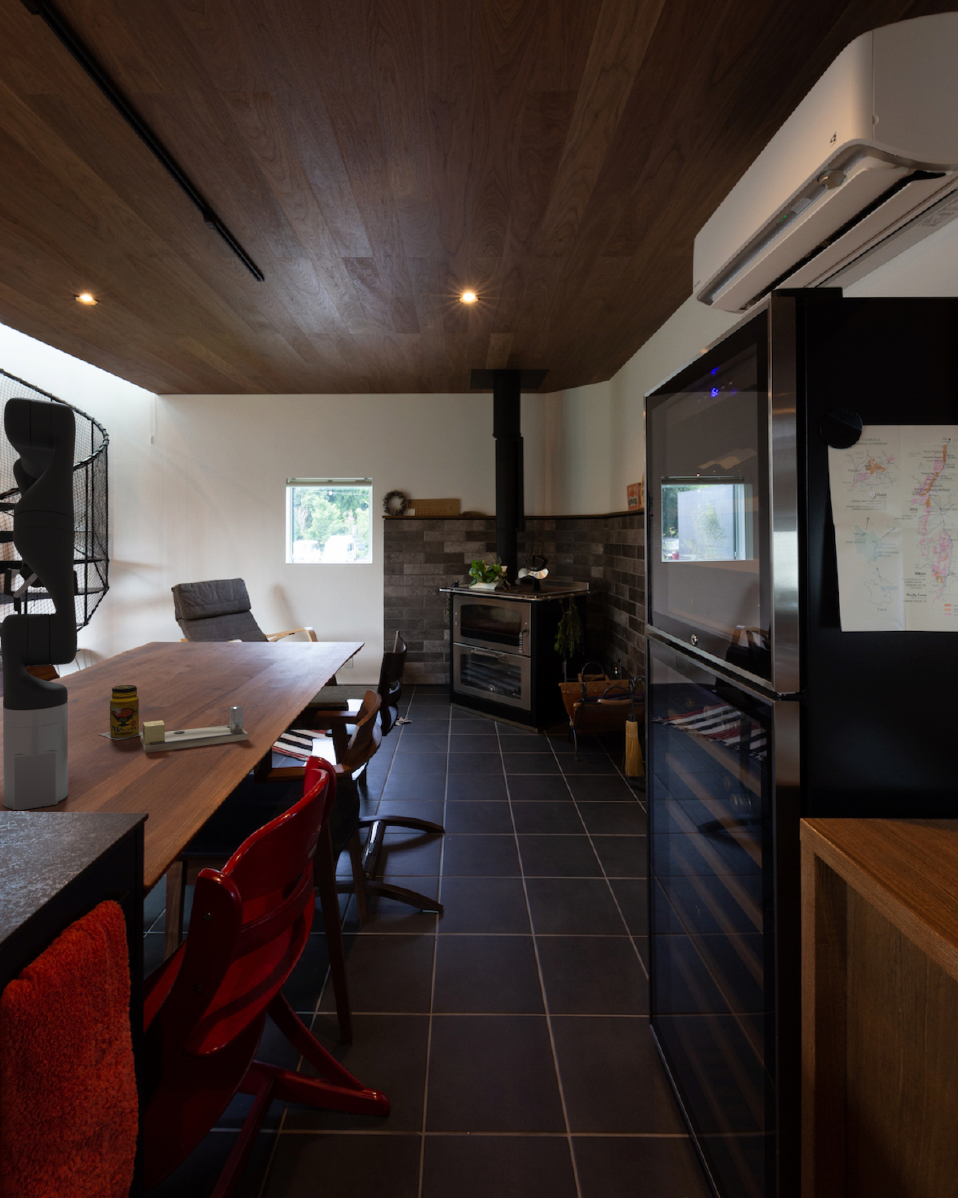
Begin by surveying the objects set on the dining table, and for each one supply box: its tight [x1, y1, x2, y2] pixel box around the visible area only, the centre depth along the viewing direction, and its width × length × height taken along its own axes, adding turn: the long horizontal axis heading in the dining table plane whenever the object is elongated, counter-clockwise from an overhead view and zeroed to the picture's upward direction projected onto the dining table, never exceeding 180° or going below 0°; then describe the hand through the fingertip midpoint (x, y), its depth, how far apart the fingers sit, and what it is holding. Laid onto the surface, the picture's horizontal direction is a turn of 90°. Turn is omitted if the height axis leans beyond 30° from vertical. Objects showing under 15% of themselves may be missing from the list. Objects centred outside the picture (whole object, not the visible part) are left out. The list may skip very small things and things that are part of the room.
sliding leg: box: [142, 720, 166, 744], centre depth 140 cm, size 7×4×4 cm, turn 35°
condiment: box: [98, 684, 143, 741], centre depth 148 cm, size 7×8×12 cm
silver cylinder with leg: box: [229, 705, 244, 733], centre depth 150 cm, size 6×3×6 cm, turn 34°
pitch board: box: [140, 724, 249, 754], centre depth 145 cm, size 10×22×2 cm, turn 124°
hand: (42, 613), depth 143 cm, fingers open, 8 cm apart
